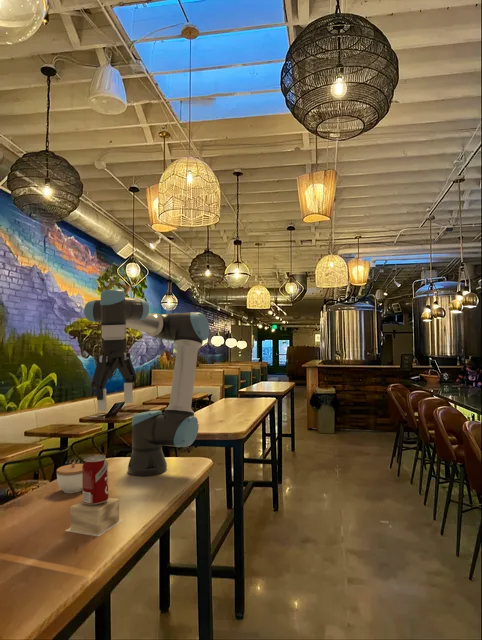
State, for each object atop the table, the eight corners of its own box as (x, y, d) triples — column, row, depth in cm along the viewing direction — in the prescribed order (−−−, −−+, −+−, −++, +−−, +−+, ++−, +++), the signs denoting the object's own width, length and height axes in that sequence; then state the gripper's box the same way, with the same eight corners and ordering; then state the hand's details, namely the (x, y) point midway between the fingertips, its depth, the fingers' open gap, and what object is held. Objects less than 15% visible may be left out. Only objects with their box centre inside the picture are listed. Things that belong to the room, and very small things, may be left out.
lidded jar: (57, 487, 156) (57, 461, 157) (89, 483, 160) (88, 457, 161) (55, 497, 146) (55, 468, 147) (90, 493, 150) (89, 465, 151)
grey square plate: (88, 514, 131) (88, 510, 131) (129, 520, 126) (129, 516, 126) (53, 533, 118) (53, 529, 118) (97, 541, 113) (97, 537, 113)
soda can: (88, 509, 116) (88, 463, 117) (78, 502, 122) (78, 458, 122) (112, 502, 121) (112, 458, 121) (102, 496, 126) (102, 453, 127)
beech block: (92, 516, 127) (92, 495, 127) (119, 520, 123) (118, 499, 124) (70, 529, 118) (70, 506, 118) (97, 534, 115) (97, 510, 115)
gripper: (127, 337, 152) (128, 399, 152) (77, 340, 128) (79, 413, 128) (145, 337, 149) (147, 400, 149) (98, 340, 126) (100, 414, 126)
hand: (116, 406), depth 139 cm, fingers open, 13 cm apart
